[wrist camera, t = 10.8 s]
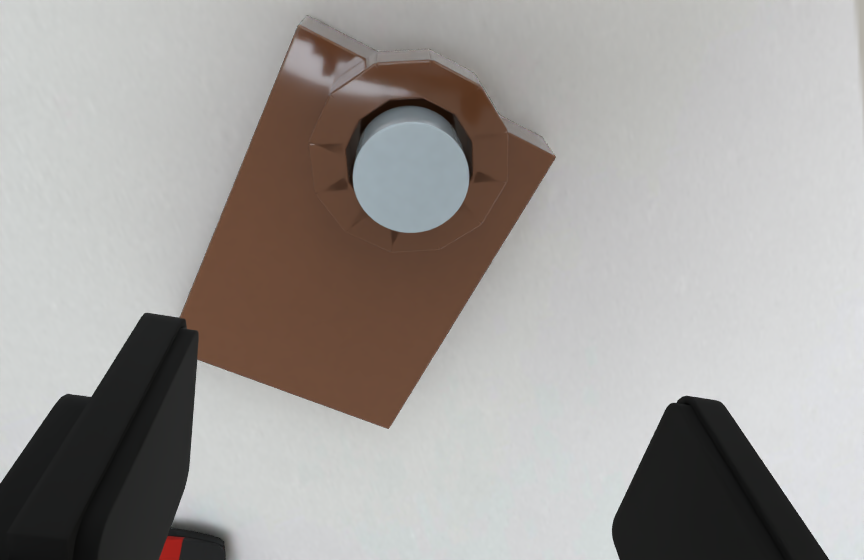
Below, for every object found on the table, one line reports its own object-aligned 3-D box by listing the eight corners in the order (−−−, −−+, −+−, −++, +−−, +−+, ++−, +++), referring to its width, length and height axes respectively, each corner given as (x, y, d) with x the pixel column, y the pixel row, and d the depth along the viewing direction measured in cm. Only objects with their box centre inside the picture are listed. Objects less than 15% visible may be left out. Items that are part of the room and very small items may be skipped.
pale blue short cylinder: (384, 85, 22) (383, 100, 20) (482, 135, 22) (490, 154, 21) (338, 182, 23) (333, 205, 21) (432, 225, 24) (436, 250, 22)
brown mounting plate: (320, -21, 24) (306, -7, 20) (560, 108, 26) (590, 142, 22) (183, 317, 30) (151, 378, 26) (389, 395, 32) (388, 461, 28)
